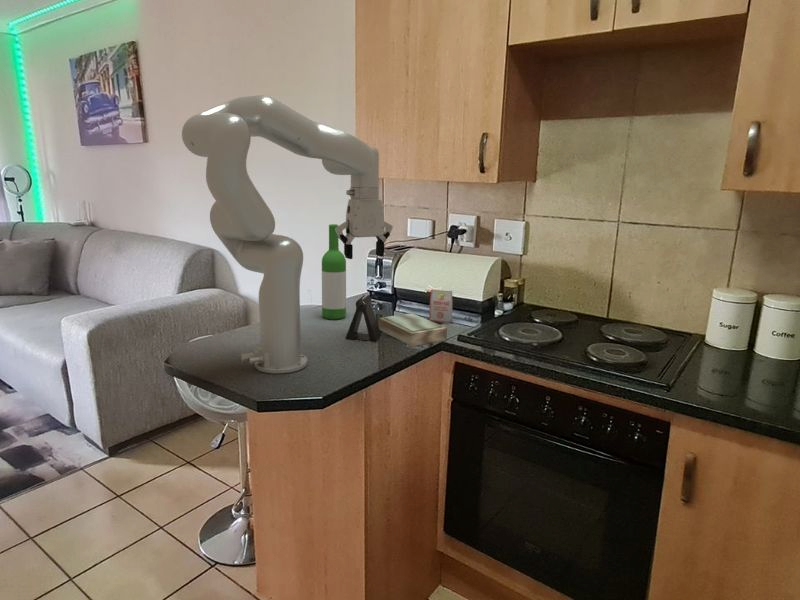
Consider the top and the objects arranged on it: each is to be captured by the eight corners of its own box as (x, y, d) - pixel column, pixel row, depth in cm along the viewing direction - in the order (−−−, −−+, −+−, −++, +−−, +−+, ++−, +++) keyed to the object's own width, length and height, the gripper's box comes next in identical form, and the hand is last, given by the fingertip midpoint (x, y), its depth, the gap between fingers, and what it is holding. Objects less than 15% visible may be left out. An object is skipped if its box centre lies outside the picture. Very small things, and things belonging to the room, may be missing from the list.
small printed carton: (431, 317, 175) (432, 288, 173) (451, 319, 174) (453, 289, 171) (429, 320, 172) (430, 290, 170) (449, 322, 170) (451, 292, 168)
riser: (411, 346, 146) (411, 332, 145) (379, 329, 161) (379, 316, 160) (446, 340, 152) (447, 326, 151) (412, 324, 167) (412, 312, 166)
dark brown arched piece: (381, 336, 155) (381, 296, 152) (376, 342, 149) (376, 300, 146) (351, 333, 156) (351, 293, 153) (345, 339, 151) (345, 298, 148)
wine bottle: (317, 316, 174) (316, 224, 167) (338, 312, 179) (338, 223, 172) (329, 321, 168) (328, 226, 161) (350, 318, 173) (350, 225, 166)
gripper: (341, 195, 136) (342, 261, 140) (399, 194, 144) (398, 257, 149) (329, 193, 142) (330, 257, 146) (385, 193, 151) (384, 253, 155)
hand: (364, 257), depth 147 cm, fingers open, 9 cm apart
